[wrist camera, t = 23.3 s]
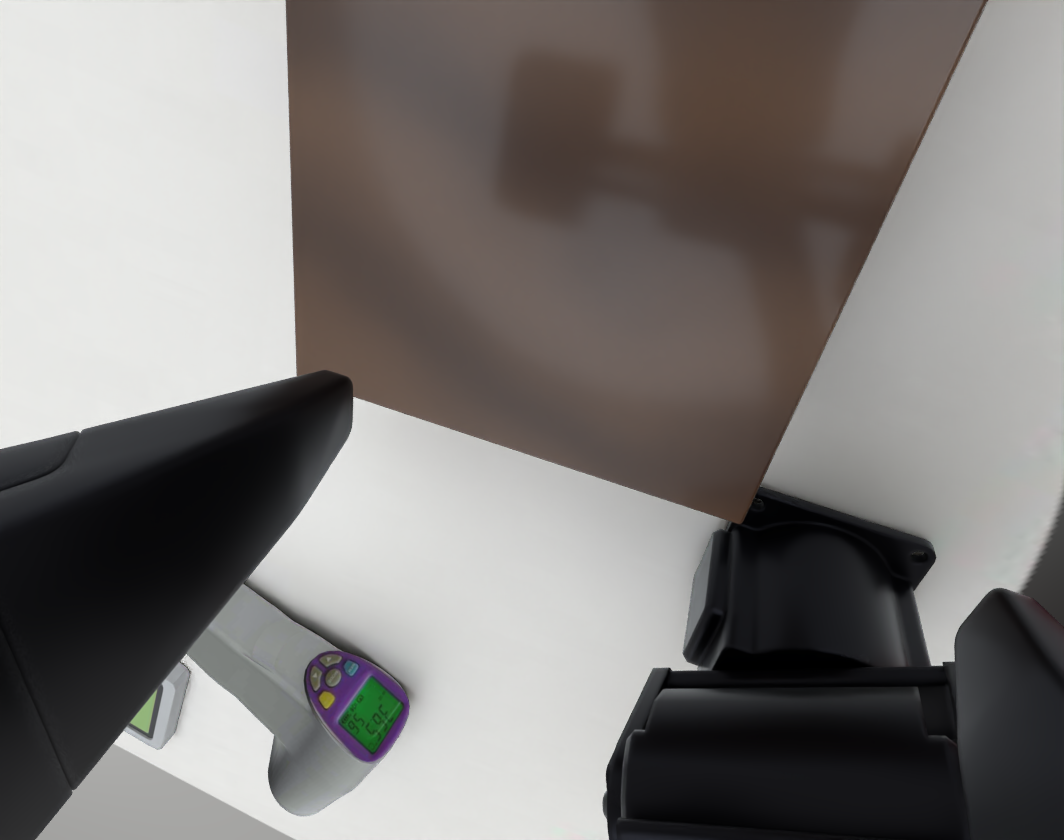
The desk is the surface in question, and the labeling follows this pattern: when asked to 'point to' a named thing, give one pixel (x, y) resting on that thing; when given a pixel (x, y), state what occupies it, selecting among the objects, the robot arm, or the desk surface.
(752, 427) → the drawer unit
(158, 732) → the handheld gaming console
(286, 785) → the infrared thermometer
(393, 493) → the desk surface
